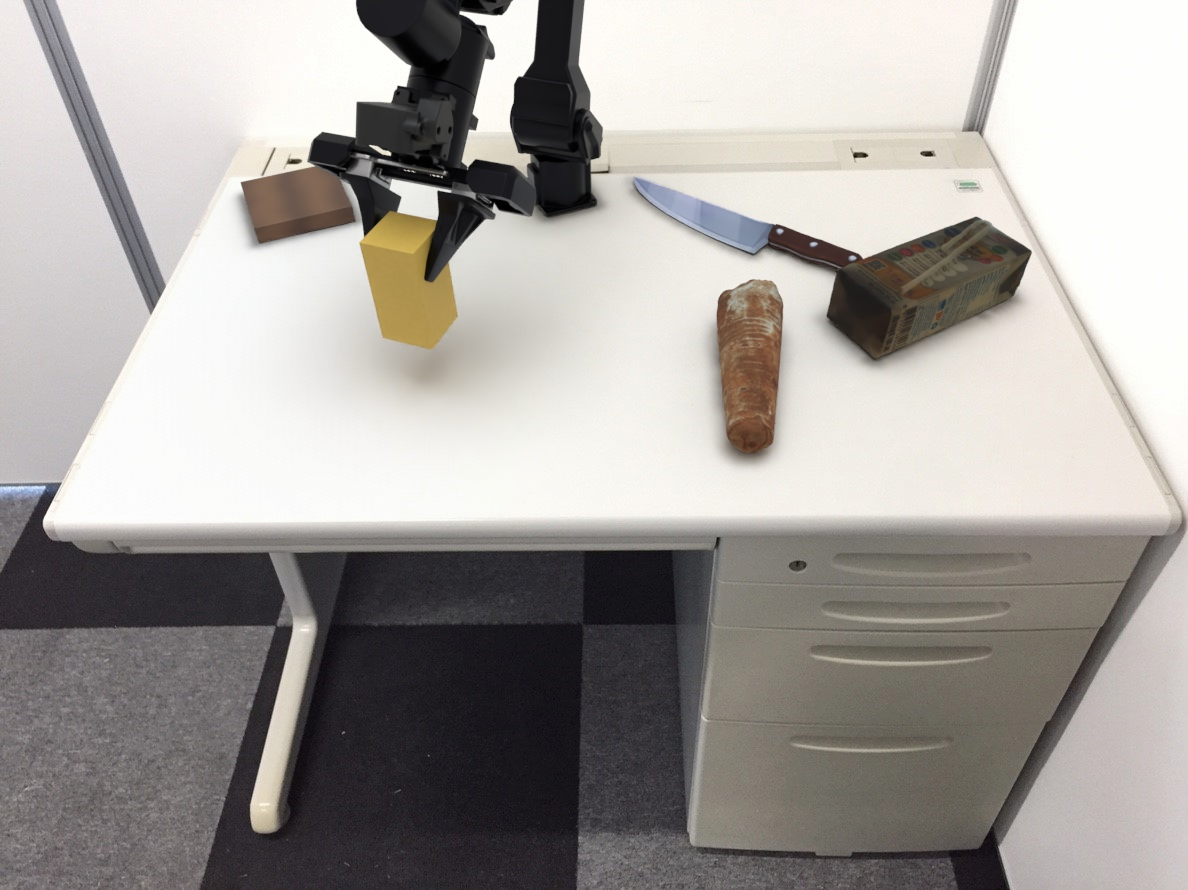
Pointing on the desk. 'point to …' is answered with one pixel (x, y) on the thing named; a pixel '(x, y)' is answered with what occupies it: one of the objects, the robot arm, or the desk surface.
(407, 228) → the butter
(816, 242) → the kitchen knife
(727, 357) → the orange-brown tapered rod
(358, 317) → the desk surface
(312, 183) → the cutting board
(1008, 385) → the desk surface
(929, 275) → the beverage carton
